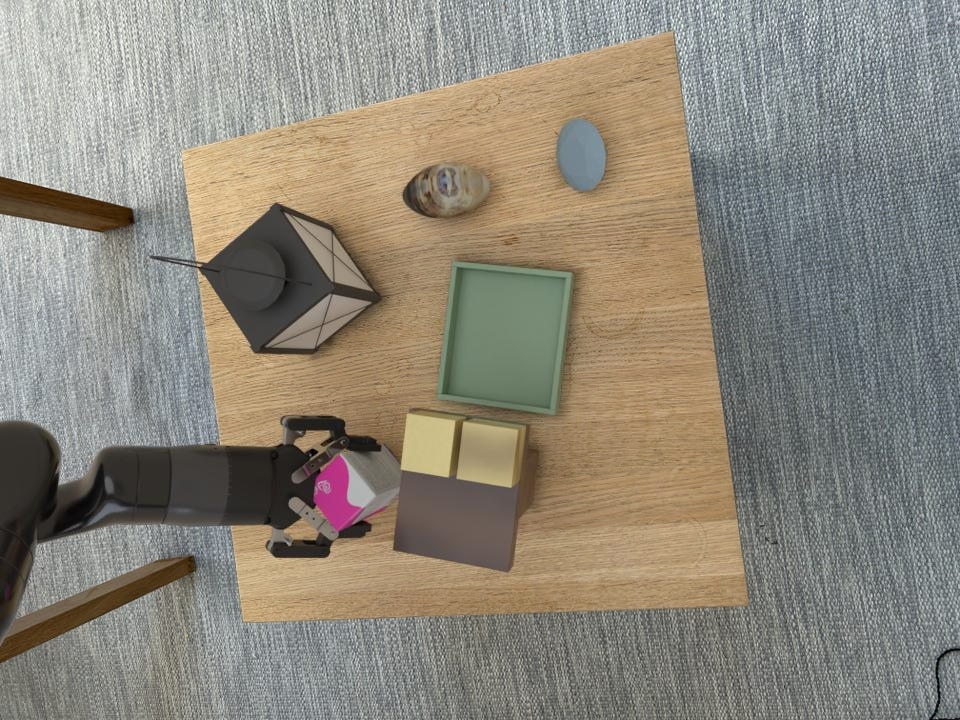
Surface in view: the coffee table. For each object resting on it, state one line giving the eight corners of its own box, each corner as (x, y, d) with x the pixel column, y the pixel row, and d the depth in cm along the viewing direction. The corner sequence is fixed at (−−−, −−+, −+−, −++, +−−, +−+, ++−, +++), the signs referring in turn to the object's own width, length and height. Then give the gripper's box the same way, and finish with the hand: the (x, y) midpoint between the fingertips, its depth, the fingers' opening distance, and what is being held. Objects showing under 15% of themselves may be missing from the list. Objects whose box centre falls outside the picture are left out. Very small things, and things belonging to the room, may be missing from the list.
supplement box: (382, 440, 86) (341, 451, 75) (416, 480, 85) (379, 497, 74) (347, 473, 87) (301, 489, 76) (380, 514, 86) (338, 535, 75)
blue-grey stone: (620, 101, 80) (584, 107, 77) (641, 172, 80) (607, 180, 77) (574, 128, 86) (540, 134, 83) (595, 194, 87) (561, 202, 84)
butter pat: (460, 471, 63) (448, 477, 60) (414, 463, 64) (400, 469, 61) (466, 417, 63) (455, 420, 59) (420, 410, 64) (406, 413, 60)
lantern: (384, 299, 89) (261, 269, 62) (311, 356, 91) (162, 352, 64) (331, 223, 91) (188, 162, 63) (261, 281, 93) (94, 246, 65)
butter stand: (549, 516, 84) (499, 584, 59) (462, 501, 87) (377, 561, 61) (562, 408, 84) (518, 429, 58) (474, 396, 86) (394, 411, 61)
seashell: (492, 165, 86) (475, 145, 78) (499, 215, 86) (482, 201, 78) (412, 181, 88) (388, 163, 80) (418, 230, 88) (395, 217, 80)
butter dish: (558, 413, 84) (554, 415, 81) (443, 397, 87) (435, 398, 84) (575, 275, 84) (572, 272, 81) (459, 264, 87) (452, 260, 84)
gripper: (215, 573, 69) (380, 564, 77) (233, 415, 69) (397, 424, 77) (197, 549, 75) (352, 543, 84) (214, 404, 75) (367, 413, 84)
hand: (373, 486), depth 81 cm, fingers closed on supplement box, 8 cm apart
